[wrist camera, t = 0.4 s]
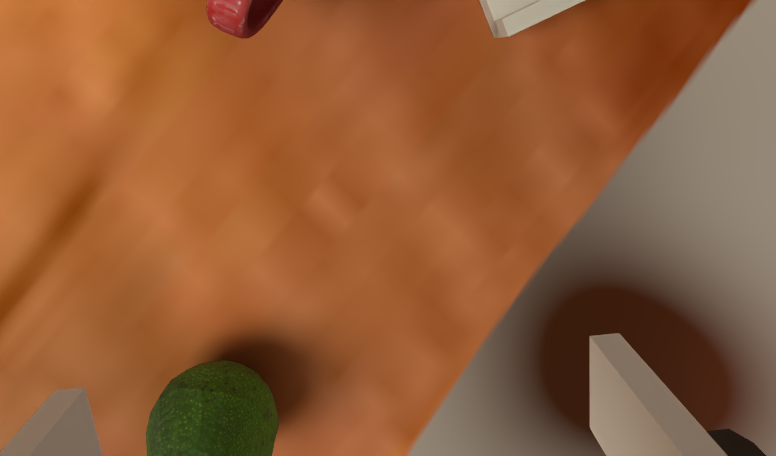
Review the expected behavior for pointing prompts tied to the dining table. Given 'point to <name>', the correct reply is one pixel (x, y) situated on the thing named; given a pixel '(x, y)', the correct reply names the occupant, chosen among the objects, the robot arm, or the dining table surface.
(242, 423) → the avocado
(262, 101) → the dining table surface
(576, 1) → the shelf
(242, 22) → the mug
